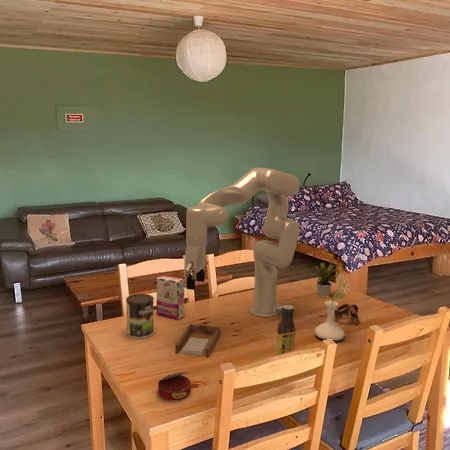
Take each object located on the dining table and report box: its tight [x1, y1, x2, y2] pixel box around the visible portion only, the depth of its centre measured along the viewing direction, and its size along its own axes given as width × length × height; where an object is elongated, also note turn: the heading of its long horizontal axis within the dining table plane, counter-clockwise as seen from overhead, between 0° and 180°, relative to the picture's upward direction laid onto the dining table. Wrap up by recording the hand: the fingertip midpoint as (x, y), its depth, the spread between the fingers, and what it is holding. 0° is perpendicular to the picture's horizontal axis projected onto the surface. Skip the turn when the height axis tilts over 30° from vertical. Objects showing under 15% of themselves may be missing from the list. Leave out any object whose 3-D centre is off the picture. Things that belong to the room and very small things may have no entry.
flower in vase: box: [314, 273, 351, 341], centre depth 182 cm, size 13×11×25 cm
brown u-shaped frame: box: [174, 323, 221, 358], centre depth 177 cm, size 12×19×3 cm, turn 168°
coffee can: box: [125, 293, 155, 340], centre depth 183 cm, size 10×10×14 cm
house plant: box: [312, 262, 340, 298], centre depth 226 cm, size 14×14×16 cm
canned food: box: [157, 372, 192, 401], centre depth 144 cm, size 11×10×10 cm
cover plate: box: [182, 336, 210, 357], centre depth 173 cm, size 7×10×2 cm
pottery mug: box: [334, 303, 360, 325], centre depth 201 cm, size 12×10×8 cm
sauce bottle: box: [274, 304, 296, 356], centre depth 163 cm, size 6×6×20 cm
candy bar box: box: [155, 274, 185, 321], centre depth 200 cm, size 11×5×16 cm, turn 62°
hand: (195, 285), depth 179 cm, fingers open, 9 cm apart
